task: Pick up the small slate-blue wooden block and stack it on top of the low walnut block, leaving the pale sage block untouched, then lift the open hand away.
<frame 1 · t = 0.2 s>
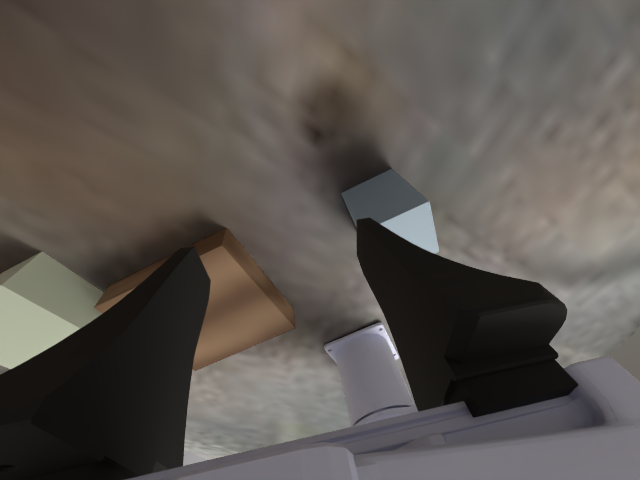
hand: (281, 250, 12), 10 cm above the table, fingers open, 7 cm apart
walnut block: (212, 294, 26), on the table
sage block: (55, 298, 23), on the table
slate block: (373, 202, 22), on the table
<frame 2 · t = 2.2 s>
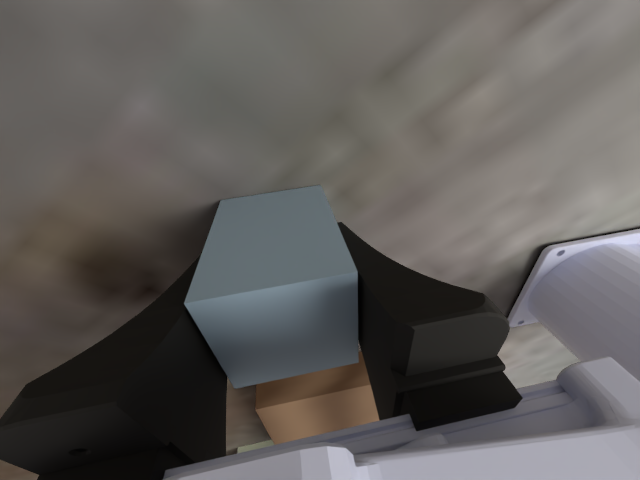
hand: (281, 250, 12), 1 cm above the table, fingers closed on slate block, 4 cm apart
walnut block: (337, 387, 24), on the table
slate block: (280, 233, 13), on the table, touching gripper
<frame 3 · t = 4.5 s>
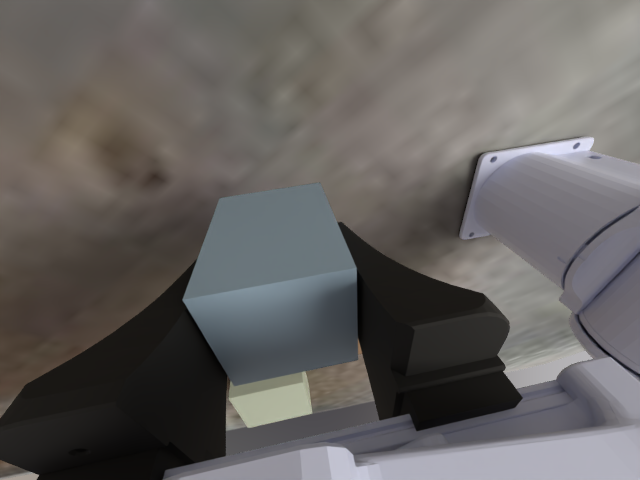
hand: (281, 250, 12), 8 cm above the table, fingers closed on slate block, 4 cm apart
sage block: (273, 372, 33), on the table
slate block: (279, 231, 13), point 7 cm above the table, touching gripper
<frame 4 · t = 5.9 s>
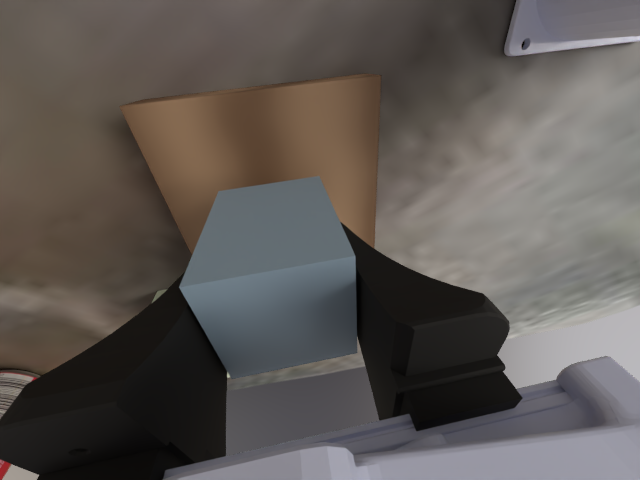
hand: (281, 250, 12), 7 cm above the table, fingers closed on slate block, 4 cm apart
walnut block: (277, 186, 18), on the table
beverage can: (21, 380, 24), on the table
slate block: (279, 226, 13), point 5 cm above the table, touching gripper
when the fingers open (6 cm above the table, at t = 7.0 s): slate block drops 2 cm, point 2 cm above the table.
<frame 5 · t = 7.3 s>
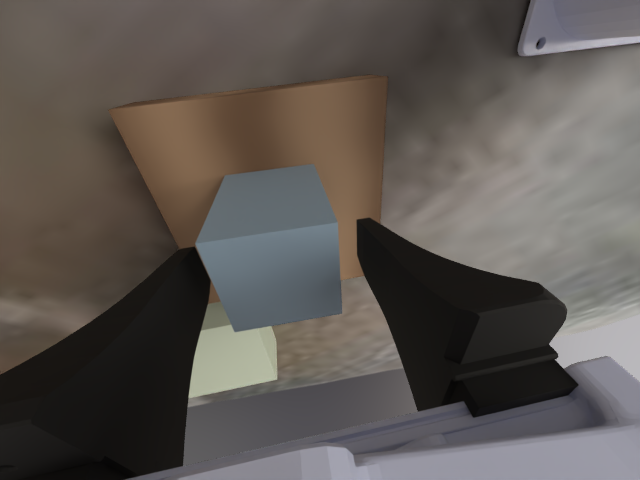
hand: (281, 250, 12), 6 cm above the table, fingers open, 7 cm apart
walnut block: (277, 192, 17), on the table
sage block: (222, 320, 23), on the table
slate block: (277, 208, 14), point 2 cm above the table
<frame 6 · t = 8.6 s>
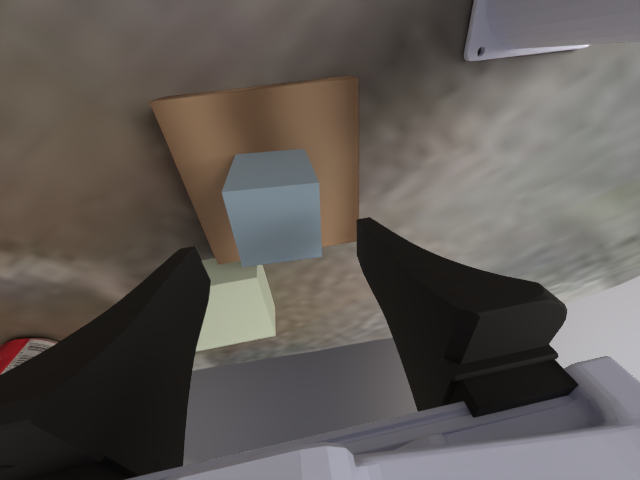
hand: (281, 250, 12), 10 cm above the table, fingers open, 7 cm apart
walnut block: (275, 171, 21), on the table, touching slate block
beverage can: (46, 348, 27), on the table
sage block: (228, 286, 26), on the table
slate block: (275, 183, 18), point 2 cm above the table, touching walnut block
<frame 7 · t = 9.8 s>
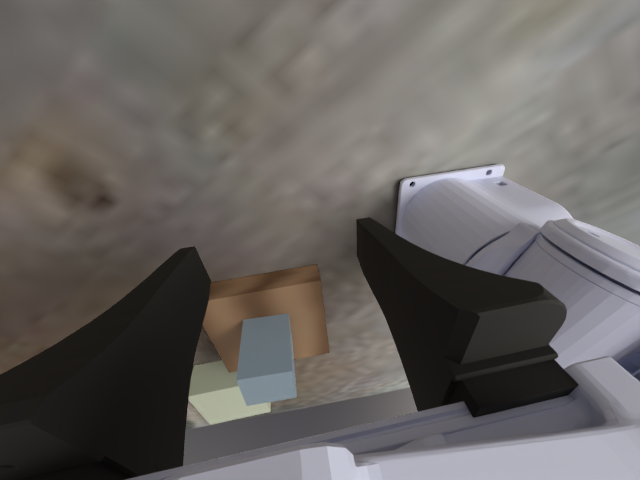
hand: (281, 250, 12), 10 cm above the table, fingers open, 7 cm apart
walnut block: (269, 309, 30), on the table
sage block: (235, 373, 35), on the table
slate block: (269, 330, 27), point 2 cm above the table
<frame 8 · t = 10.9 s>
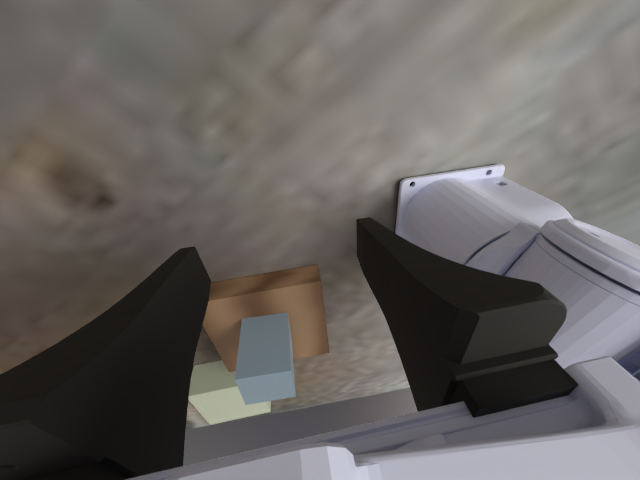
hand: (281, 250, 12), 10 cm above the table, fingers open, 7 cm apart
walnut block: (270, 309, 30), on the table, touching slate block
sage block: (235, 373, 35), on the table
slate block: (268, 329, 27), point 2 cm above the table, touching walnut block
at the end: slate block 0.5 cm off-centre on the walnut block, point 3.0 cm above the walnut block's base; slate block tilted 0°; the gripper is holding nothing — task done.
